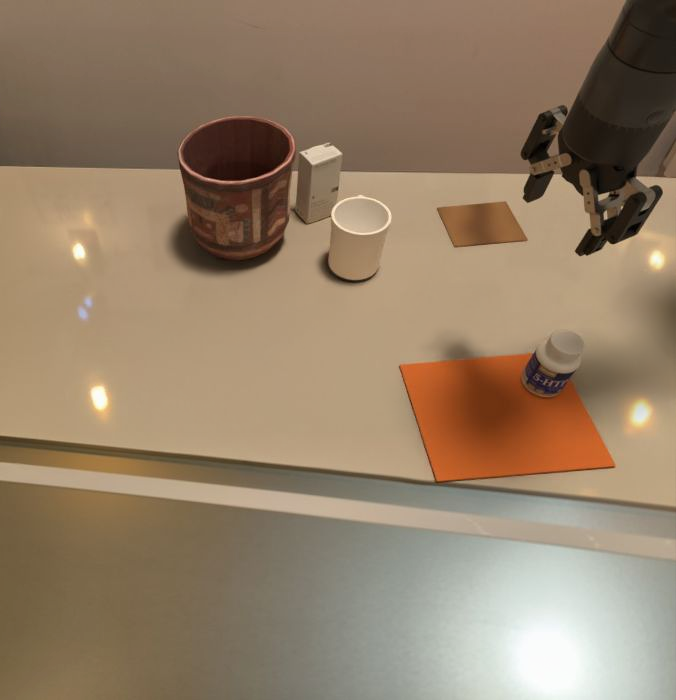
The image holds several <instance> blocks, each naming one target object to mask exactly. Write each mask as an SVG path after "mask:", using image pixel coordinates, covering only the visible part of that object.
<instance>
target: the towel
mask: <svg viewBox="0 0 676 700" xmlns="http://www.w3.org/2000/svg"><path fill="white" fill-rule="evenodd" d="M533 353H534V352H529V353H519V354H508V355H497V356H496V355H495V356H485V357H475V358H474V357H473V358H462V359H451V360H450V359H449V360H440V361H427V362H418V363H417V362H416V363H406V364H405V363H404V364H399V366H400V367H399V370H400V373H401V377H402V379H403V383H404V382H405V383H404V386H405V385H406V386H405V389H406V388H407V389H406V392H407V391H408V392H407V395H408V394H409V395H408V398H409V397H410V398H409V401H410V400H411V401H410V404H411V403H412V405H411V407H413V408H412V411H413V410H414V411H413V414H414V413H415V414H414V417H415V416H416V417H415V420H416V423H417V422H418V423H417V426H419V427H418V429H420V430H419V433H420V432H421V433H420V436H421V439H422V442H423V445H424V448H425V452H426V456H427V458H428V461H429V465H430V467H431V470H432V469H433V471H432V473H433V472H434V474H433V476H434V475H435V477H434V479H436V480H435V482H436V483H445V482H446V481H447V482H458V481H457V480H459V481H468V480H469V479H471V480H481V479H480V478H482V479H492V478H505V477H515V476H517V477H518V476H529V475H540V474H550V473H551V474H552V473H561V472H572V471H573V472H574V471H575V472H576V471H585V470H586V471H587V470H598V469H611V468H615V467H617V465H616V463H615V461H614V459H613V457H612V456H611V453H610V451H609V450H608V448H607V446H606V444H605V442H604V441H603V438H602V436H601V434H600V432H599V430H598V429H597V427H596V425H595V423H594V421H593V419H592V418H591V415H590V414H589V412H588V410H587V408H586V406H585V404H584V402H583V401H582V399H581V397H580V395H579V393H578V391H577V390H576V387H575V386H574V383H573V382H572V379H570V380H569V381H568V382H567V384H566V385H565V387H564V388H563V389H562V391H561V392H560V393H559V394H557V395H556V396H553V397H541V396H538V395H535V394H533V393H531V392H530V391H529V390H528V389H527V388H526V387H525V386H524V385H523V383H522V379H521V375H522V372H523V370H524V368H525V367H526V365H527V363H528V362H529V360H530V358H531V357H532V355H533Z"/></svg>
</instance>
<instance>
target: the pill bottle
mask: <svg viewBox="0 0 676 700" xmlns="http://www.w3.org/2000/svg"><path fill="white" fill-rule="evenodd" d="M585 346H586V345H585V341H584V339H583V338H582V337H581V336H580V335H579V334H577V332H574V331H572V330H569V329H558V330H555V331H554V332H552V333H551V335H550V336H549V338H547V339H545V340H543V341H541V342H540V343H539V344H538V345H537V347H536V349H535V350H534V351H533V352H532V353H533V355H532V357H531V358H530V360H529V362H528V363H527V365H526V367H525V368H524V370H523V372H522V375H521V379H522V383H523V385H524V386H525V387H526V388H527V389H528V390H529V391H530V392H531V393H533V394H535V395H538V396H541V397H553V396H556V395H557V394H559V393H560V392H561V391H562V389H563V388H564V387H565V385H566V384H567V382H568V381H569V380H571V378H572V377H573V375H574V374H575V373H576V372H577V370H578V368H579V367H580V365H581V362H582V357H581V355H582V353H583V352H584V351H585V348H586V347H585Z"/></svg>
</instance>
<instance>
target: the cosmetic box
mask: <svg viewBox="0 0 676 700" xmlns="http://www.w3.org/2000/svg"><path fill="white" fill-rule="evenodd" d="M343 156H344V155H343V152H341V150H339V149H338V148H336V147H335V146H334V145H333V144H332V143H331V142H326V143H323V144H320V145H315V146H312V147H310V148H308V149H304V150H302V151H299V154H298V164H297V165H298V166H297V180H296V181H297V182H296V196H295V197H296V199H295V213H296V214H297V215H298V216H299V217H300V219H302V221H303V222H304V223H305V224H311V223H315V222H318V221H320V220H323V219H326V218H329V217H331V213H332V209H333V208H334V206H335V205H336V204H337V203H338V196H339V186H340V180H341V171H342V163H343Z"/></svg>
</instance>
